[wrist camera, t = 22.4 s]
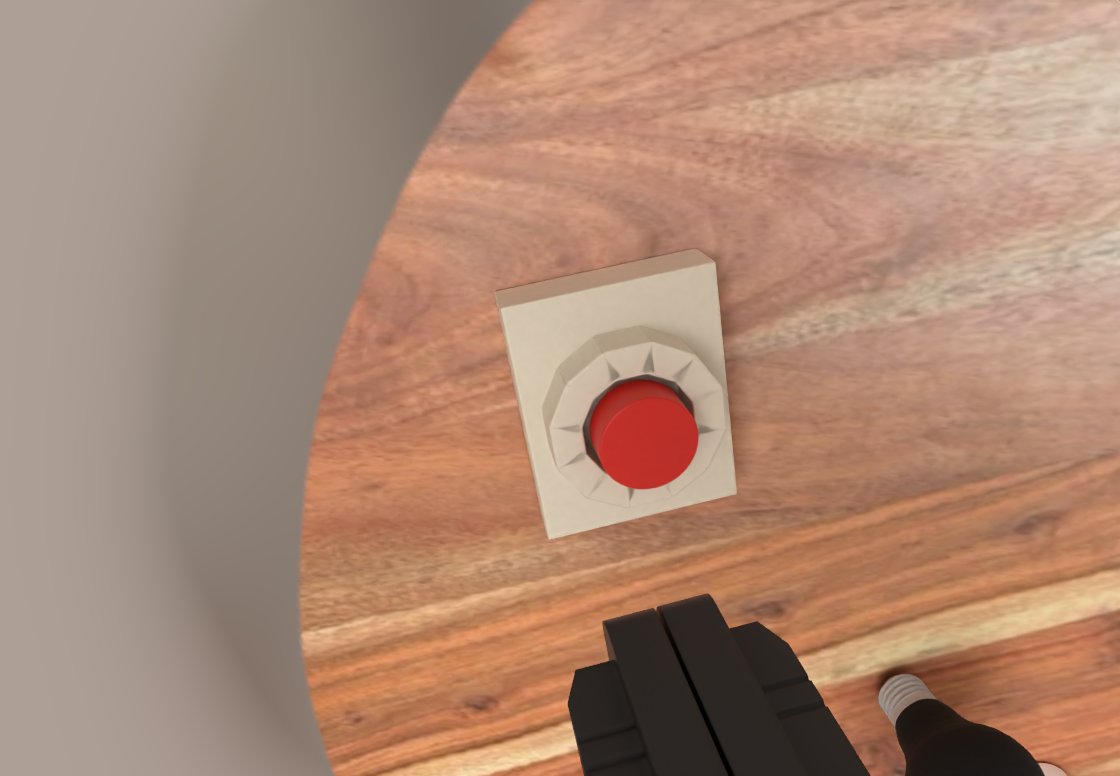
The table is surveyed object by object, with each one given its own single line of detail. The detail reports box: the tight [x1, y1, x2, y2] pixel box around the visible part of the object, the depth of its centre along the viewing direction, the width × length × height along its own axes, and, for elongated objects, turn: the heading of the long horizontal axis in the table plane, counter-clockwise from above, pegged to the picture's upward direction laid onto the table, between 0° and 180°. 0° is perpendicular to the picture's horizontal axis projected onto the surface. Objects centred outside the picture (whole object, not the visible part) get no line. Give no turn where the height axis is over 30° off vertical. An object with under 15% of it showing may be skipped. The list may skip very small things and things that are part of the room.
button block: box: [494, 248, 737, 540], centre depth 32 cm, size 10×8×4 cm
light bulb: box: [878, 674, 1045, 776], centre depth 38 cm, size 6×6×10 cm
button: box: [590, 380, 699, 489], centre depth 30 cm, size 4×4×2 cm
